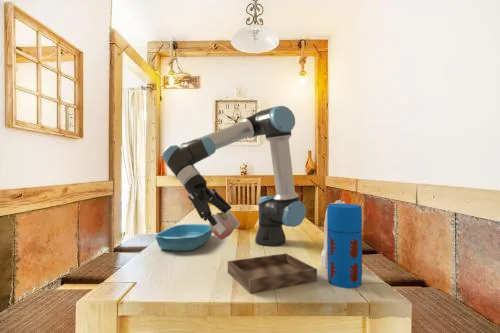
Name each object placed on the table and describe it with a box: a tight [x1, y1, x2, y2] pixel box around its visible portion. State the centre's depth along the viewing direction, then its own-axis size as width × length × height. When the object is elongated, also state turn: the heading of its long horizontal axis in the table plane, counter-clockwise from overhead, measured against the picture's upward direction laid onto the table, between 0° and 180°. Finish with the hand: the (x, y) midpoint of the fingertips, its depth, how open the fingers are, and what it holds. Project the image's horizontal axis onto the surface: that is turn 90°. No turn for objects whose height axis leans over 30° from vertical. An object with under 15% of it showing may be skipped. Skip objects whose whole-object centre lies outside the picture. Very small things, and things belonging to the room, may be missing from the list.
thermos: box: [326, 203, 363, 289], centre depth 101 cm, size 11×11×25 cm
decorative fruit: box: [208, 210, 235, 240], centre depth 106 cm, size 9×8×10 cm
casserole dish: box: [154, 223, 213, 252], centre depth 151 cm, size 37×22×7 cm, turn 171°
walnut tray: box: [227, 253, 318, 294], centre depth 106 cm, size 24×20×4 cm
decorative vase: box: [320, 199, 346, 269], centre depth 117 cm, size 11×11×25 cm
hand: (230, 229), depth 104 cm, fingers closed on decorative fruit, 9 cm apart
